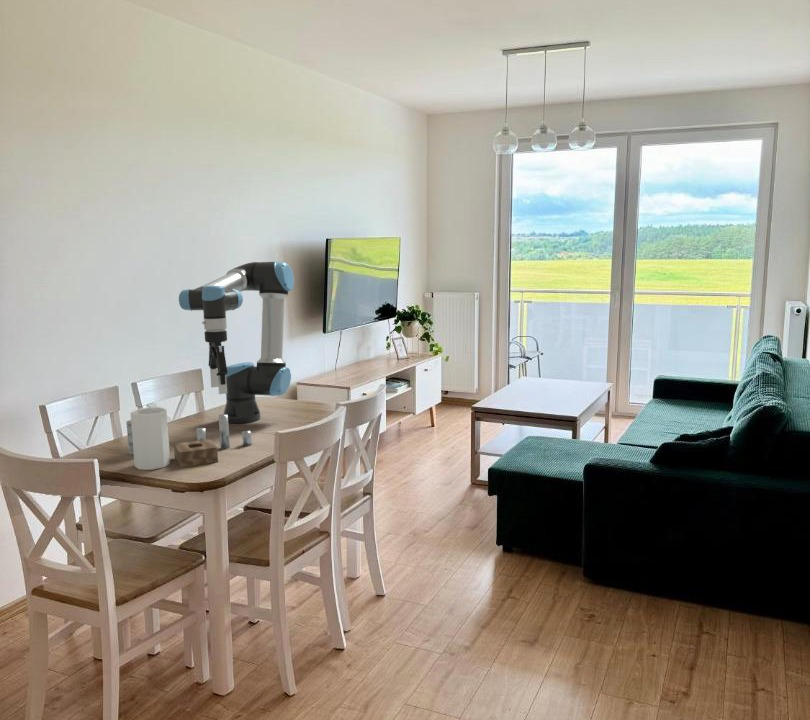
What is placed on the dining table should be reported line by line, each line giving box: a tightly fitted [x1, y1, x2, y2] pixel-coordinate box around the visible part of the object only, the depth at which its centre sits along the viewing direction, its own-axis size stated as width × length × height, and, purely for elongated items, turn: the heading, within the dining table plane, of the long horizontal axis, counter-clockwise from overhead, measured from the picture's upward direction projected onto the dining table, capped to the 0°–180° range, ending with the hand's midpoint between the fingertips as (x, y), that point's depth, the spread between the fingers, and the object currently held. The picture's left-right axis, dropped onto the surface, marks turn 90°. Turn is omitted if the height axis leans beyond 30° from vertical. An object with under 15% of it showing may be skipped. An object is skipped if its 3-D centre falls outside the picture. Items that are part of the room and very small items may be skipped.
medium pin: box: [195, 427, 207, 441], centre depth 262 cm, size 3×3×8 cm
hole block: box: [173, 438, 219, 468], centre depth 252 cm, size 12×12×5 cm
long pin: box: [218, 413, 231, 450], centre depth 266 cm, size 3×3×12 cm
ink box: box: [126, 419, 134, 455], centre depth 261 cm, size 9×5×12 cm, turn 66°
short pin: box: [241, 429, 253, 447], centre depth 270 cm, size 3×3×5 cm
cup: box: [130, 406, 171, 471], centre depth 246 cm, size 11×11×18 cm
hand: (219, 390), depth 263 cm, fingers open, 13 cm apart
